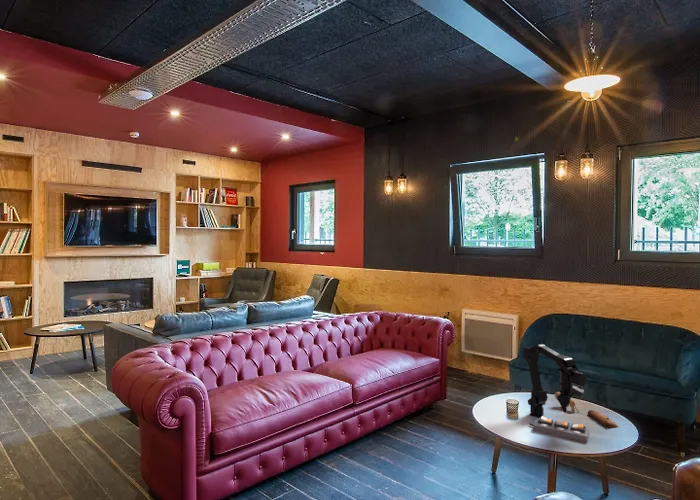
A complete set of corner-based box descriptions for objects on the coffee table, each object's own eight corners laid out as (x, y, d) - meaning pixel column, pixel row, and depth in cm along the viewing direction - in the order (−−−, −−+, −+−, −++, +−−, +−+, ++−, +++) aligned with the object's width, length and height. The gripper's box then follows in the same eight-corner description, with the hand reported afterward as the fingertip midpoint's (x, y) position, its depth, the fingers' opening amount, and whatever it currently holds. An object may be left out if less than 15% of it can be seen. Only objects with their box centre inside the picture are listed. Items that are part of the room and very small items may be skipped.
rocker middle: (555, 424, 243) (556, 421, 243) (557, 421, 246) (557, 419, 246) (566, 428, 240) (566, 425, 240) (567, 425, 243) (567, 423, 243)
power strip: (527, 429, 246) (527, 421, 246) (531, 422, 254) (531, 415, 254) (587, 442, 230) (587, 434, 230) (589, 435, 238) (589, 427, 238)
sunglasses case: (621, 427, 247) (615, 417, 246) (610, 434, 247) (604, 424, 246) (601, 414, 265) (595, 405, 264) (591, 420, 265) (585, 411, 264)
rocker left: (540, 420, 247) (540, 418, 247) (541, 418, 250) (542, 416, 250) (550, 424, 244) (550, 422, 244) (551, 422, 248) (551, 419, 247)
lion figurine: (553, 406, 278) (553, 392, 278) (557, 404, 281) (557, 390, 281) (577, 413, 266) (577, 398, 266) (581, 411, 270) (581, 396, 269)
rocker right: (572, 429, 238) (572, 426, 238) (573, 426, 241) (573, 424, 242) (583, 429, 235) (582, 427, 236) (584, 427, 239) (583, 424, 239)
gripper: (580, 388, 233) (580, 418, 233) (584, 378, 248) (584, 406, 249) (557, 384, 239) (556, 413, 240) (562, 375, 255) (562, 402, 255)
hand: (566, 409), depth 246 cm, fingers open, 9 cm apart
